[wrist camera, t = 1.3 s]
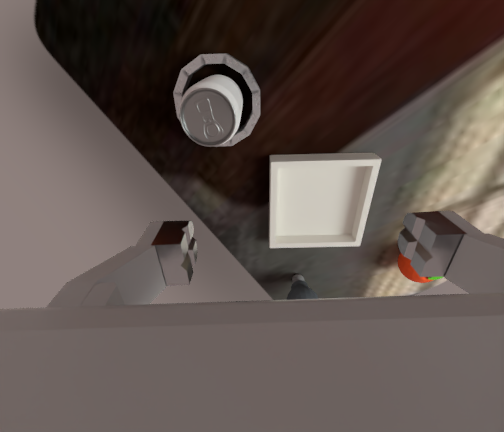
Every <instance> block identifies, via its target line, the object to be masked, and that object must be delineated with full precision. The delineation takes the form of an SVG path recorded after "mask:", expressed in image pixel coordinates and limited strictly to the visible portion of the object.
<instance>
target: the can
mask: <svg viewBox="0 0 504 432" xmlns="http://www.w3.org/2000/svg"><path fill="white" fill-rule="evenodd" d="M242 108H243V97H242V93H241V90H240V88H239V86H238V85H237V84H236V83H235V82H234V81H233V80H232V79H231V78H229V77H227V76H224V75H212V76H209V77H207V78H205V79H203V80H201V81H199V82H198V83H196V84H194V85H193V86H191V87H190V88H189V89H188V90H187V91H186V92H185V94H184V95H183V97H182V99H181V102H180V108H179V115H180V122H181V125H182V128H183V130H184V131H185V133H186V134H187V136H188V137H189V138H190V139H191V140H193V141H194V142H196V143H198V144H200V145H203V146H209V147H212V146H218V145H221V144H223V143H226V142H227V141H229V140H230V139H231V138H232V137H233V136H234V135H235V133H236V132H237V130H238V127H239V124H240V120H241V114H242Z"/></svg>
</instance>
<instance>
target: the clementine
mask: <svg viewBox="0 0 504 432" xmlns="http://www.w3.org/2000/svg"><path fill="white" fill-rule="evenodd" d="M410 263H411V260H410V259H408V258H406V257H404V256H403V255H402V253H400V254H399V257H398V267H399V269H400V271H401V273H402V274H403V275H404V276H405V277H407V278H408V279H410V280H412V281H415V282H420V283H425V282H430V281H432V280H436V279H440V278H442V277H420V276H419V275H418V273H417V272H416V271H415V270H414V268H413V267H412V266H411V265H410Z"/></svg>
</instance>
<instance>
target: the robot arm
mask: <svg viewBox="0 0 504 432" xmlns="http://www.w3.org/2000/svg"><path fill="white" fill-rule="evenodd" d="M403 224H404V226H405V228H404V229H403V230H402V231H401V232H400V233H399V237H398V247H399V250H400V252H401V253H402V255H403V256H404V257H406V258H408V259H410V260H411V263H410V265H411V266H412V267H413V268H414V270H415V271H416V272H417V273H418V275H419V276H420V277H445V278H446V279H447V280H449V281H450V282H452V283H454V284H455V285H457V286H459V287H460V288H462V289H463V290H465V291H466V292H468V293H469V294H450V295H420V296H389V297H358V298H327V299H296V300H266V301H236V302H205V303H175V304H174V303H173V304H150V303H151V302H152V301H153V300H154V299H155V298H156V297H157V296H158V295H159V294H160V293H161V292H162V291H163V290H164V289H165V288H166V286H174V285H189V284H190V281H191V277H192V274H193V268H192V266H193V265H194V264H195V263H196V259H197V244H196V240H195V239H194V238H193V237H192V236H193V232H194V228H193V223H192V222H191V221H156V222H150V223H149V225H148V227H147V228H146V230H145V231H144V233H143V235H142V236H141V238H140V239H139V241H138V242H137V244H136V246H132V247H129V248H127V249H126V250H124V251H122V252H120V253H118V254H117V255H115V256H113V257H111V258H110V259H108V260H106V261H104V262H103V263H101V264H99V265H97V266H95V267H94V268H92V269H90V270H88V271H87V272H85V273H83V274H81V275H80V276H78V277H76V278H74V279H72V280H71V281H69V282H67V283H66V284H65V285H64V286H63V288H62V289H61V290H60V291H59V293H58V294H57V295H56V296H55V297H54V298H53V300H52V301H51V302H50V303H49V305H48V306H47V307H46V308H20V309H0V432H504V239H503V238H500V237H497V236H494V235H491V234H484V233H482V232H481V231H480V230H478V229H477V228H476V227H474V226H473V225H471V224H470V223H469V222H467V221H466V220H465V219H463V218H462V217H460V216H459V215H458V214H456V213H455V212H453V211H449V210H448V211H435V212H418V213H407V215H406V216H405V217H404V220H403Z"/></svg>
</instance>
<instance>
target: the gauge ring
mask: <svg viewBox="0 0 504 432" xmlns="http://www.w3.org/2000/svg"><path fill="white" fill-rule="evenodd" d="M206 64H226V65H227V66H229V67H231V68H232V69H234V70H236V71H237V72H239V73H240V74H242V75H243V77H244V79H245V81H246V83H247V84H248V86H249V88H250V90H251V92H252V107H253V109H252V111H251V113H250V115H249V117H248V119H247V121H246V123H245V124H244V125H243V126H241V127H240V128H238V130H237V132H236V133H235V135H234V136H233V137H232V138H231V139H230V140H229V141H227V142H226V143H223V144H221V145H218V146H233V145H234V144H236V143H237V142H239V141H241V140H242V139H244V138H245V137H247V136H249V135H250V133H251V131H252V130H253V128H254V126H255V124H256V122H257V120H258V118H259V116H260V88H259V86H258V84H257V82H256V80H255V78H254V77H253V75H252V73H251V71H250V69H249V67H248V66H247V65H245V64H243V63H242V62H240V61H239V60H237V59H235V58H234V57H232V56H231V55H229V54H227V53H225V54H201V55H199V56H198V57H197V58H195V59H194V60H193V61H191V62H190V63H189V64H188V65H186V66H185V67H184V68H182V69H181V72H180V74H179V77H178V80H177V83H176V86H175V89H174V92H173V95H174V101H175V107H176V113H177V118H178V119H179V120H180V115H179V108H180V102H181V99H182V97H183V95H184V94H185V92H186V91H187V89H188V86H189V83H190V81H191V78H192V75H193V74H194V73H195V72H197V71H198V70H199V69H201V68H202V67H203V66H205V65H206Z"/></svg>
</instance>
